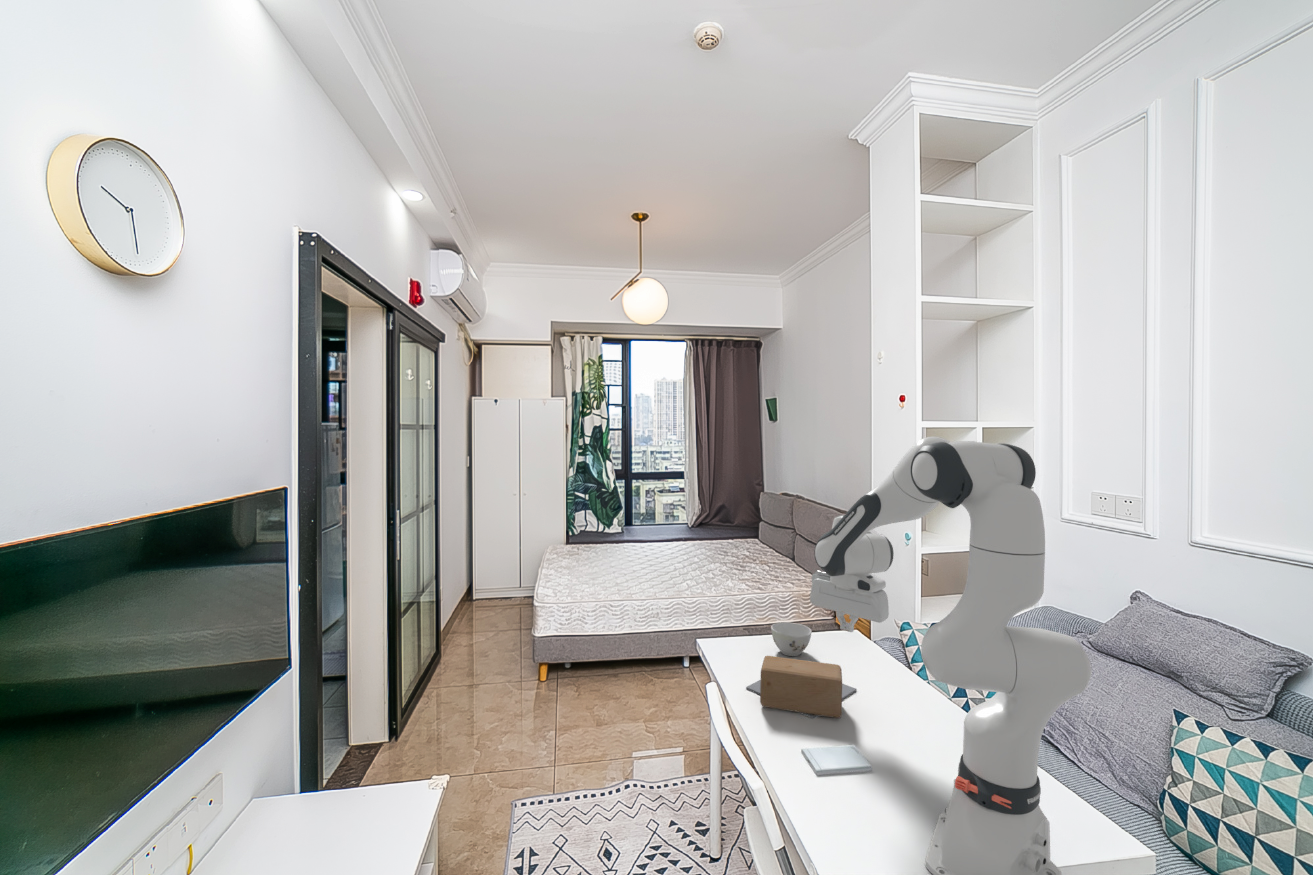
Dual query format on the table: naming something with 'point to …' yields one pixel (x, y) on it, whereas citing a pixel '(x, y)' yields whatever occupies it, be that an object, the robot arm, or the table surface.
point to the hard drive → (836, 759)
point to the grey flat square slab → (845, 693)
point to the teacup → (791, 637)
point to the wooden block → (801, 686)
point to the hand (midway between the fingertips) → (847, 630)
